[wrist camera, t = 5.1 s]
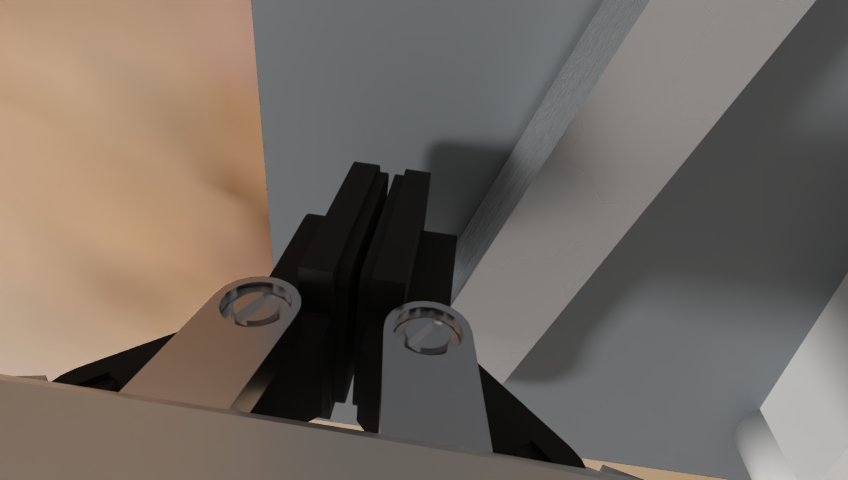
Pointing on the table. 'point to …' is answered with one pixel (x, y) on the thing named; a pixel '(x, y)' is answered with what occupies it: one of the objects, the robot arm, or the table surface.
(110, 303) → the table surface
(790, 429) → the board
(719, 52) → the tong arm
